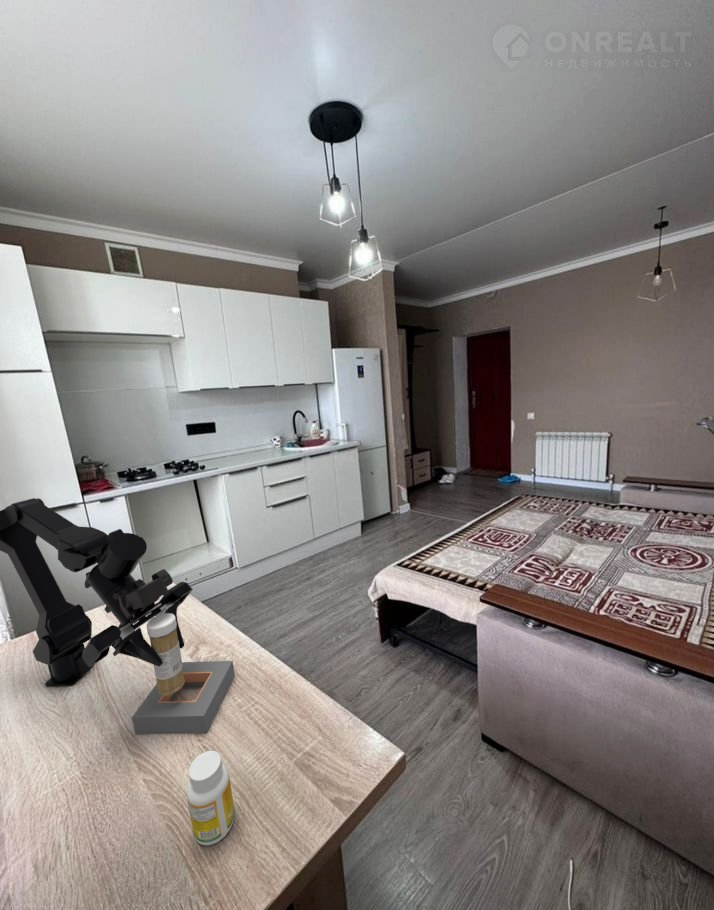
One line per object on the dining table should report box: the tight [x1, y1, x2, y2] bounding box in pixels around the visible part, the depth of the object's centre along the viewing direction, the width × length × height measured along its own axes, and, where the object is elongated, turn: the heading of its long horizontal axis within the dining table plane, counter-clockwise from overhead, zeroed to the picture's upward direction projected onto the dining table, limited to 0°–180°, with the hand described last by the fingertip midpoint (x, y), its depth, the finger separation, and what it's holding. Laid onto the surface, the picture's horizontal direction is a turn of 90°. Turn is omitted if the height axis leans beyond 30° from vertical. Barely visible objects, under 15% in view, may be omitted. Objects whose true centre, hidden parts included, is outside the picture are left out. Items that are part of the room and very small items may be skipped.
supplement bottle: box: [185, 750, 236, 846], centre depth 50 cm, size 5×5×10 cm
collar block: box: [131, 660, 236, 735], centre depth 71 cm, size 13×13×4 cm
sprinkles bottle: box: [146, 613, 185, 696], centre depth 66 cm, size 5×5×14 cm
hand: (172, 655), depth 66 cm, fingers closed on sprinkles bottle, 4 cm apart
